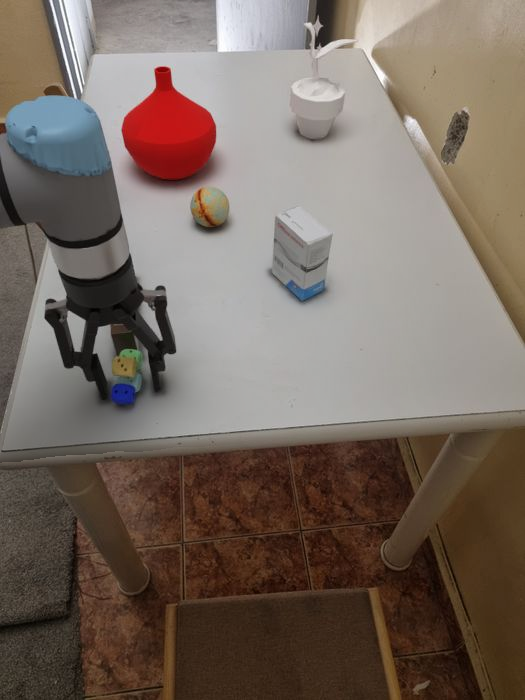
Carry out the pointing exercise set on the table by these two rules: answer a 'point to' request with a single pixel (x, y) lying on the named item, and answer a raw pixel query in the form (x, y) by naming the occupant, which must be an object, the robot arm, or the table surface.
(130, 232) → the table surface
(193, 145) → the vase
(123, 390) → the dice
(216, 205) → the ball
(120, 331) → the brown paneled block
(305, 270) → the ink box
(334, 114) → the potted plant
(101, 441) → the table surface
